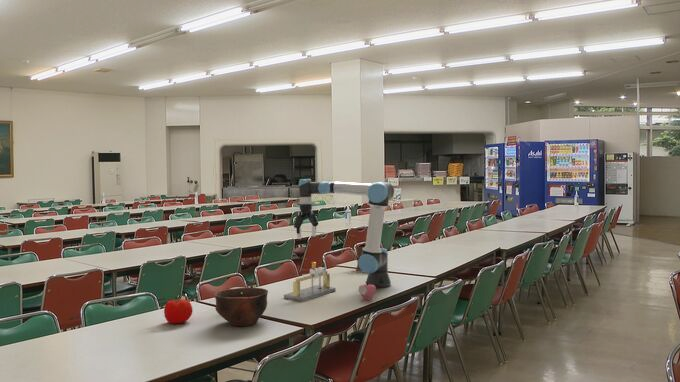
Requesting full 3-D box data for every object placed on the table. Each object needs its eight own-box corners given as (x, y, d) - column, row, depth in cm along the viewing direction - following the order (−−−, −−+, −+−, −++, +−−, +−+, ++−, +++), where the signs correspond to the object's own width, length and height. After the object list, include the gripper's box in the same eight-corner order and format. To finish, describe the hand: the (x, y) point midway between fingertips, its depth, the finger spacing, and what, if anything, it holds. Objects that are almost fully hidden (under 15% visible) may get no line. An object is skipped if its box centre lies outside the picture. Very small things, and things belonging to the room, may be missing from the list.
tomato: (169, 319, 269) (168, 295, 269) (196, 318, 269) (195, 295, 269) (160, 326, 257) (159, 302, 257) (188, 326, 257) (187, 301, 256)
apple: (355, 300, 302) (355, 282, 301) (365, 297, 308) (365, 279, 307) (369, 302, 295) (368, 284, 295) (379, 299, 301) (378, 281, 301)
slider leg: (318, 290, 317) (318, 262, 316) (315, 291, 315) (314, 262, 314) (313, 289, 320) (312, 261, 319) (310, 290, 317) (309, 262, 316)
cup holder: (382, 271, 383) (381, 236, 382) (348, 272, 383) (347, 236, 382) (380, 266, 402) (380, 232, 401) (347, 267, 402) (347, 233, 401)
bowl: (248, 313, 278) (248, 283, 277) (279, 322, 260) (278, 291, 259) (205, 323, 260) (204, 292, 259) (234, 334, 242) (233, 300, 242)
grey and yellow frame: (335, 291, 324) (335, 267, 324) (302, 301, 300) (302, 275, 300) (317, 288, 333) (316, 265, 332) (283, 298, 309) (283, 273, 308)
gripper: (314, 202, 353) (315, 235, 354) (287, 204, 333) (288, 239, 334) (323, 202, 348) (324, 235, 349) (296, 205, 329) (297, 240, 329)
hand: (306, 237), depth 341 cm, fingers open, 13 cm apart
